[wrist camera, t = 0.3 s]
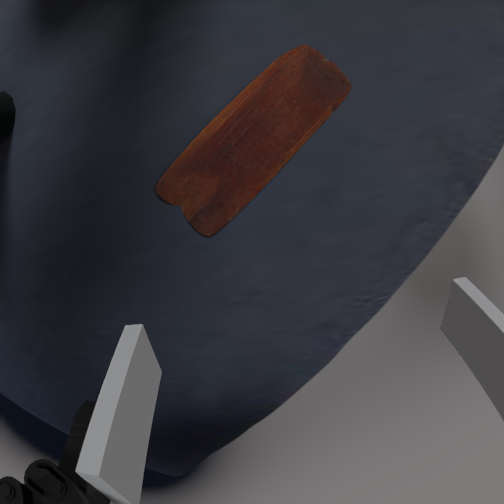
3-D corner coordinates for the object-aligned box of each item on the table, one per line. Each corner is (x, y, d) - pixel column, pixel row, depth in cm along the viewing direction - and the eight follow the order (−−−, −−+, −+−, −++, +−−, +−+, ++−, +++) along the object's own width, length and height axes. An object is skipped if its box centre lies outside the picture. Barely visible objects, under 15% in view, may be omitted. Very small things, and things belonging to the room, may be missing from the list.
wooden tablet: (210, 239, 41) (210, 244, 40) (151, 188, 38) (148, 192, 36) (360, 93, 34) (365, 93, 32) (303, 34, 30) (306, 31, 29)
